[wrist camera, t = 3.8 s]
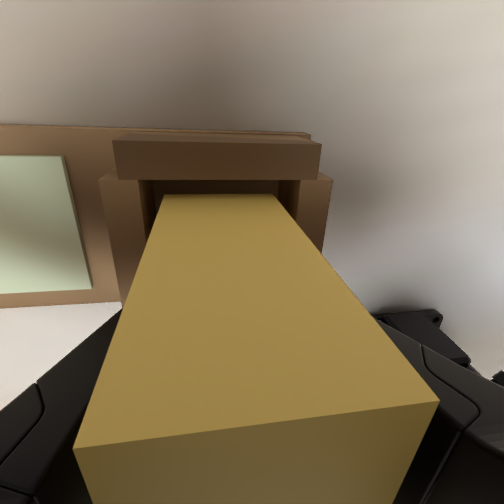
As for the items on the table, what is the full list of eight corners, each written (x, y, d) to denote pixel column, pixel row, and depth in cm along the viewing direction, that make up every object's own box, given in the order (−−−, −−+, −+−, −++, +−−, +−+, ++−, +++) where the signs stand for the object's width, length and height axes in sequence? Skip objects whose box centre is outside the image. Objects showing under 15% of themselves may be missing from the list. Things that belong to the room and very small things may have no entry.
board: (287, 281, 17) (294, 294, 16) (-50, 299, 15) (-71, 316, 13) (303, 132, 14) (313, 135, 13) (-138, 120, 11) (-177, 123, 10)
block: (266, 282, 13) (369, 553, 5) (173, 287, 13) (131, 603, 5) (272, 193, 11) (439, 400, 4) (164, 194, 11) (72, 449, 3)
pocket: (291, 290, 16) (310, 326, 14) (140, 299, 15) (128, 341, 12) (309, 135, 13) (338, 144, 10) (115, 131, 12) (90, 139, 9)
